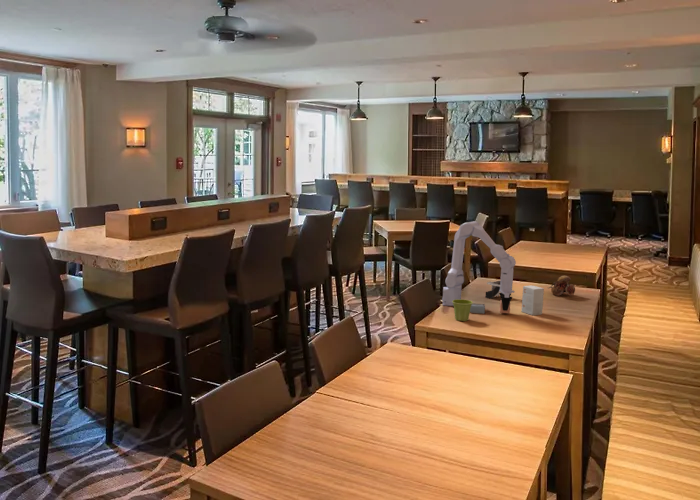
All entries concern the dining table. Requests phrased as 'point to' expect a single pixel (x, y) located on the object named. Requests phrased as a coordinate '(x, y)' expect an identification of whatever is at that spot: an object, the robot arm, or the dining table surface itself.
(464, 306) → the plant pot
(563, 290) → the seed pod
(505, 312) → the stub
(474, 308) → the slotted gray housing
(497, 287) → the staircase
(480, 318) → the dining table surface
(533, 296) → the small box
